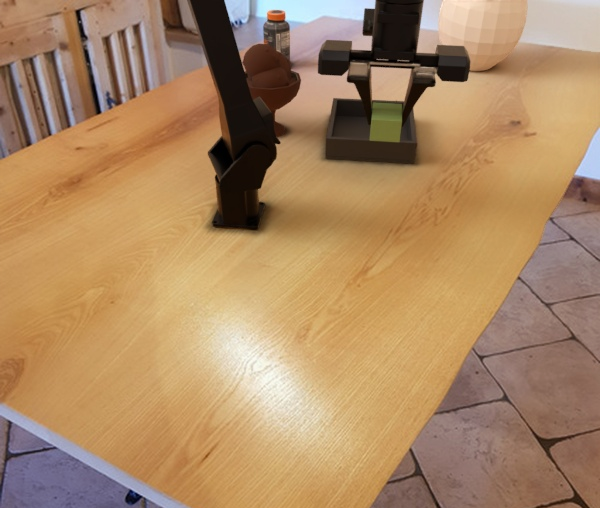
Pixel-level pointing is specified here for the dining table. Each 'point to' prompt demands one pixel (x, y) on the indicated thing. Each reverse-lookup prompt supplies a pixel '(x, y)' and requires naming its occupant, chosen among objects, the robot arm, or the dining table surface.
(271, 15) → the pill bottle
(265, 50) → the ice cream bowl
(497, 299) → the dining table surface
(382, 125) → the green block
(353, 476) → the dining table surface
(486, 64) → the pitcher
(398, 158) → the dark brown tray
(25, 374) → the dining table surface
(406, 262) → the dining table surface
